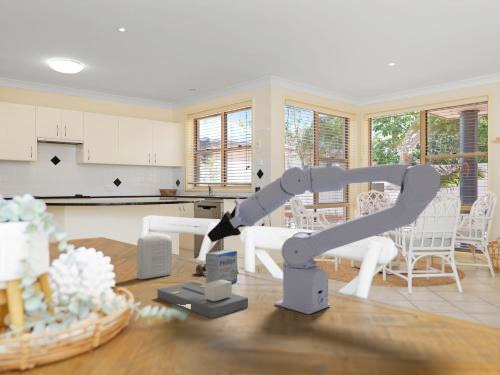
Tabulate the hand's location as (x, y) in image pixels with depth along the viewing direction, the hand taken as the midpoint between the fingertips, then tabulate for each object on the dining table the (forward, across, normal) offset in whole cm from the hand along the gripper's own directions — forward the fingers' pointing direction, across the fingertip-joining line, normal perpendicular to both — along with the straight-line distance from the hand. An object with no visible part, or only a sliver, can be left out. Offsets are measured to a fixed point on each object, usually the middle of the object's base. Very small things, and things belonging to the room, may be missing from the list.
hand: (215, 234), depth 93 cm
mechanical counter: (+15, -23, +11) cm, 30 cm away
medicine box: (+11, -11, +13) cm, 20 cm away
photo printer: (+29, -15, +1) cm, 32 cm away
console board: (+10, +6, +11) cm, 16 cm away
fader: (+4, +9, +11) cm, 15 cm away
